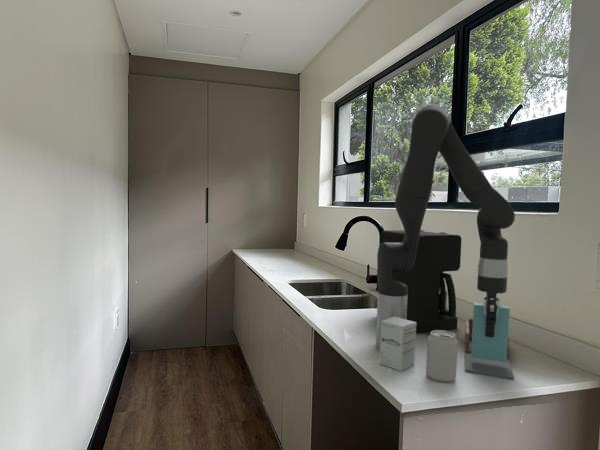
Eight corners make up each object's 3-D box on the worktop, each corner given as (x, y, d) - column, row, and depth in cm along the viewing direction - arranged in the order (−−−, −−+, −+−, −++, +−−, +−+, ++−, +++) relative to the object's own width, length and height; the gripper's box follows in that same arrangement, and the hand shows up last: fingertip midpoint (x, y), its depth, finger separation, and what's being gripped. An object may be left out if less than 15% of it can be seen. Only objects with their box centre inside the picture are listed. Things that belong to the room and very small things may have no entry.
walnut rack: (507, 359, 126) (509, 336, 125) (464, 352, 130) (466, 330, 130) (503, 342, 141) (504, 322, 140) (464, 337, 145) (465, 317, 145)
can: (436, 385, 106) (438, 338, 106) (420, 373, 113) (422, 329, 113) (462, 382, 108) (464, 336, 108) (444, 370, 115) (446, 327, 115)
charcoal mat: (513, 379, 111) (514, 377, 111) (465, 371, 115) (465, 369, 115) (508, 361, 124) (508, 359, 124) (464, 354, 128) (465, 353, 128)
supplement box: (378, 364, 119) (380, 320, 118) (392, 357, 124) (394, 315, 123) (401, 372, 114) (403, 326, 113) (415, 365, 119) (417, 321, 118)
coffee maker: (467, 331, 152) (472, 235, 151) (425, 337, 144) (430, 235, 142) (415, 312, 178) (418, 229, 176) (377, 316, 169) (380, 229, 167)
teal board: (506, 362, 116) (509, 308, 115) (471, 357, 119) (474, 304, 118) (505, 358, 119) (508, 306, 118) (471, 353, 122) (473, 302, 121)
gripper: (509, 279, 110) (506, 344, 111) (505, 272, 123) (502, 330, 124) (478, 276, 113) (475, 340, 114) (477, 269, 126) (474, 326, 127)
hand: (489, 334), depth 119 cm, fingers closed on teal board, 3 cm apart
